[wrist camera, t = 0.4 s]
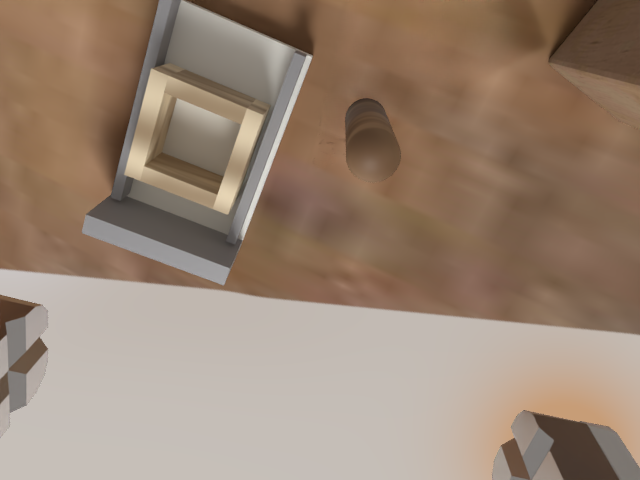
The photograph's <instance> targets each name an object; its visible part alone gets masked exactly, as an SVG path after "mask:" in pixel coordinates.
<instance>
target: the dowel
mask: <svg viewBox="0 0 640 480" xmlns="http://www.w3.org/2000/svg"><path fill="white" fill-rule="evenodd" d="M345 122H346V161H347V165H348V168H349V170H350V171H351V173H352V174H353V175H354V176H355V177H357V178H358V179H360V180H362V181H365V182H370V183H375V182H380V181H383V180H386V179H387V178H389V177H390V176H391V175H392V174H393V173H394V172H395V171H396V170H397V168H398V166H399V163H400V159H401V151H400V147H399V144H398V142H397V139H396V137H395V135H394V132H393V130H392V127H391V125H390V122H389V120H388V117H387V115H386V112H385V110H384V108H383V106H382V105H381V104H380V103H379V102H377V101H375V100H373V99H369V98H364V99H360V100H357V101H356V102H354V103H353V104H352V105H351V106H350V107H349V109H348V111H347V113H346V119H345Z"/></svg>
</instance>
